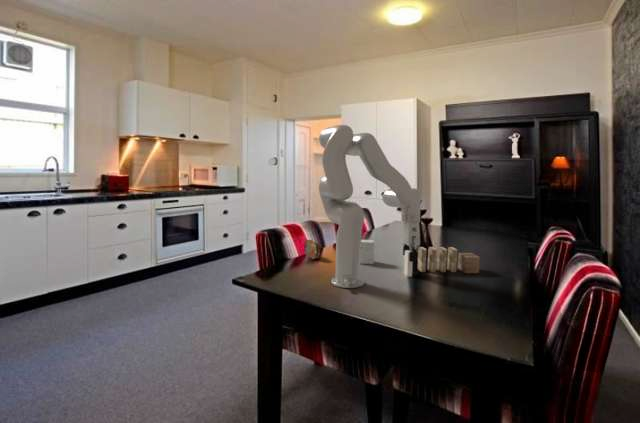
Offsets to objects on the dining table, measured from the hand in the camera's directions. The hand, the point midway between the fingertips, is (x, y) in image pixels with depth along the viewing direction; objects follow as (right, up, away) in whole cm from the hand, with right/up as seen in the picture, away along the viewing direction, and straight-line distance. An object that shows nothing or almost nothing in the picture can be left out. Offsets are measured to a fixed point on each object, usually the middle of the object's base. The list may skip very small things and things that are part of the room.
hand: (410, 258), depth 153 cm
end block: (+28, -7, +9) cm, 30 cm away
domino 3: (+11, -6, +8) cm, 15 cm away
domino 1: (-1, -7, 0) cm, 7 cm away
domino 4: (+16, -6, +8) cm, 19 cm away
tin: (-42, -3, +29) cm, 51 cm away
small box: (-17, -5, +20) cm, 26 cm away
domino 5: (+20, -7, +8) cm, 23 cm away
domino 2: (+7, -6, +8) cm, 12 cm away
